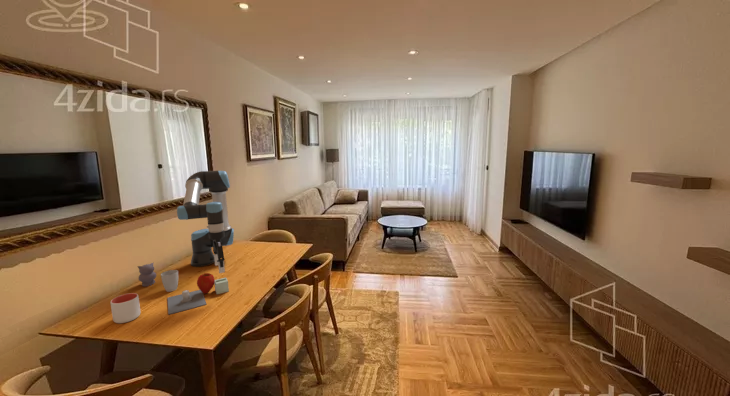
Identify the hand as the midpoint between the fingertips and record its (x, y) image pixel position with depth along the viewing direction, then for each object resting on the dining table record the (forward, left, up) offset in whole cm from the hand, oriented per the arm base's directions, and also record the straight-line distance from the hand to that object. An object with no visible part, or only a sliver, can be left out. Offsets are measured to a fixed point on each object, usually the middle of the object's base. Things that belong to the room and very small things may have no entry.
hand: (219, 268), depth 161 cm
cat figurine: (-36, -34, -13) cm, 51 cm away
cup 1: (+4, -41, -13) cm, 43 cm away
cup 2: (-19, -23, -13) cm, 33 cm away
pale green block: (0, 0, -13) cm, 13 cm away
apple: (-2, -8, -13) cm, 15 cm away
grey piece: (+2, -17, -13) cm, 21 cm away
